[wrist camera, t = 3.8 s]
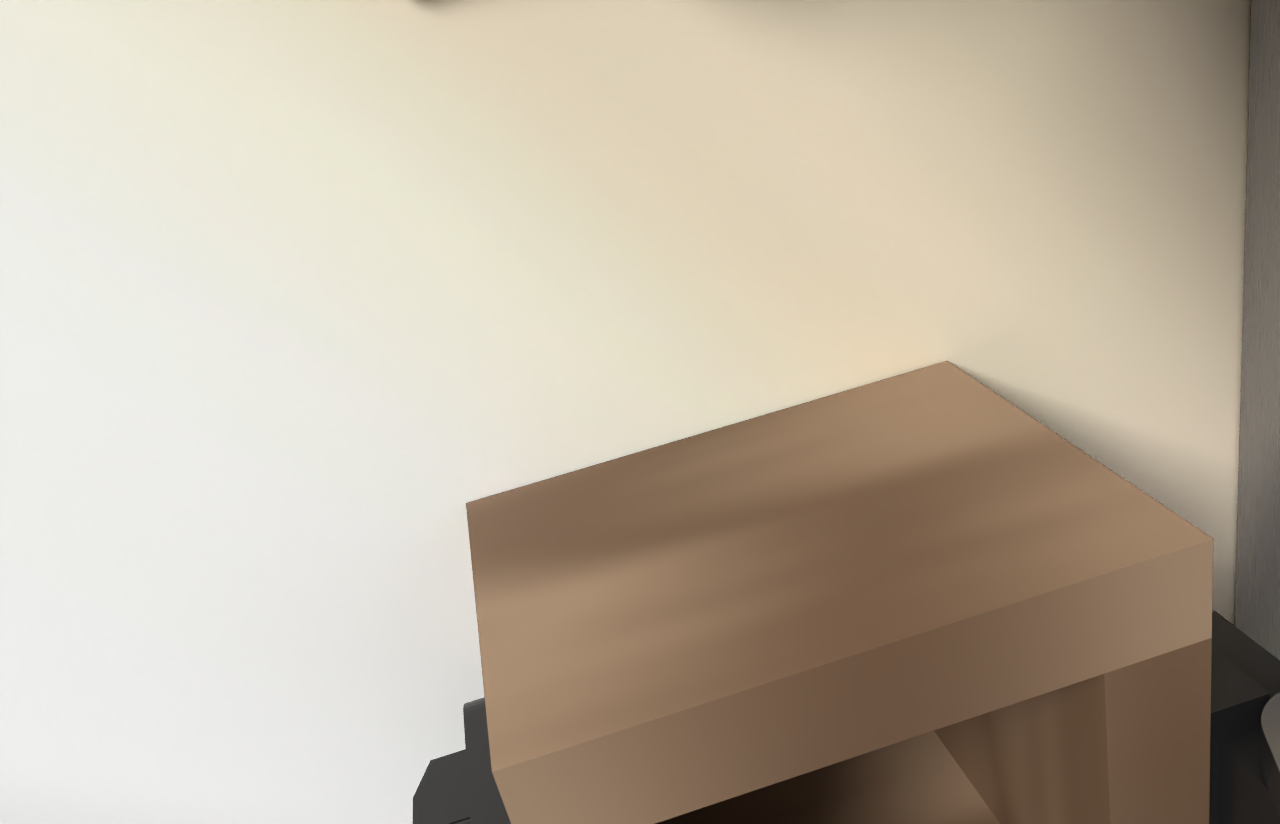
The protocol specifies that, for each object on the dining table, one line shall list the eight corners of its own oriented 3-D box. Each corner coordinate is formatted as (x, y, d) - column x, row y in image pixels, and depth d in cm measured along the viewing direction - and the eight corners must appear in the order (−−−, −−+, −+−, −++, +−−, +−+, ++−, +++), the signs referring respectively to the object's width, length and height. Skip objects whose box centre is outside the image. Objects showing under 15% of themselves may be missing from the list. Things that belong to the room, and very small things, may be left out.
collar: (589, 869, 14) (660, 1224, 10) (465, 503, 12) (491, 771, 8) (986, 736, 15) (1206, 1018, 11) (947, 360, 12) (1213, 539, 8)
